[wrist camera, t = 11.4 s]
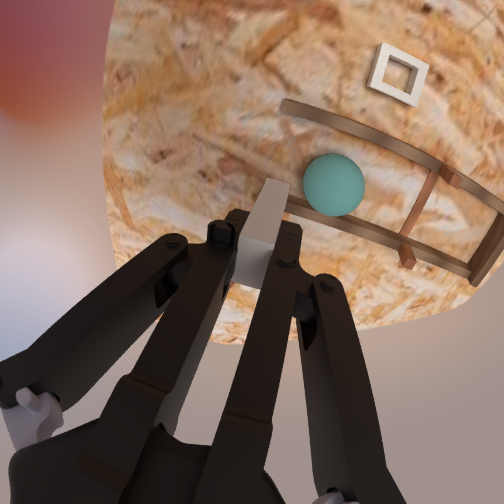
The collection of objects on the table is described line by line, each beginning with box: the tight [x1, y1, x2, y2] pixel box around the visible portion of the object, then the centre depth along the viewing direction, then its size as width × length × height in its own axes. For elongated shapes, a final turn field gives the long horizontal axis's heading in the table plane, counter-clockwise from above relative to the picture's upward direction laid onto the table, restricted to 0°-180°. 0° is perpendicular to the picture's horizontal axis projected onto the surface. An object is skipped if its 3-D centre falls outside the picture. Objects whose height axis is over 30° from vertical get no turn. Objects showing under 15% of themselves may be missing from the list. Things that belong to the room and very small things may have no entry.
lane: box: [259, 98, 504, 287], centre depth 24 cm, size 31×11×5 cm, turn 77°
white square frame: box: [366, 42, 429, 107], centre depth 18 cm, size 5×5×2 cm
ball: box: [303, 154, 365, 216], centre depth 25 cm, size 6×6×6 cm
